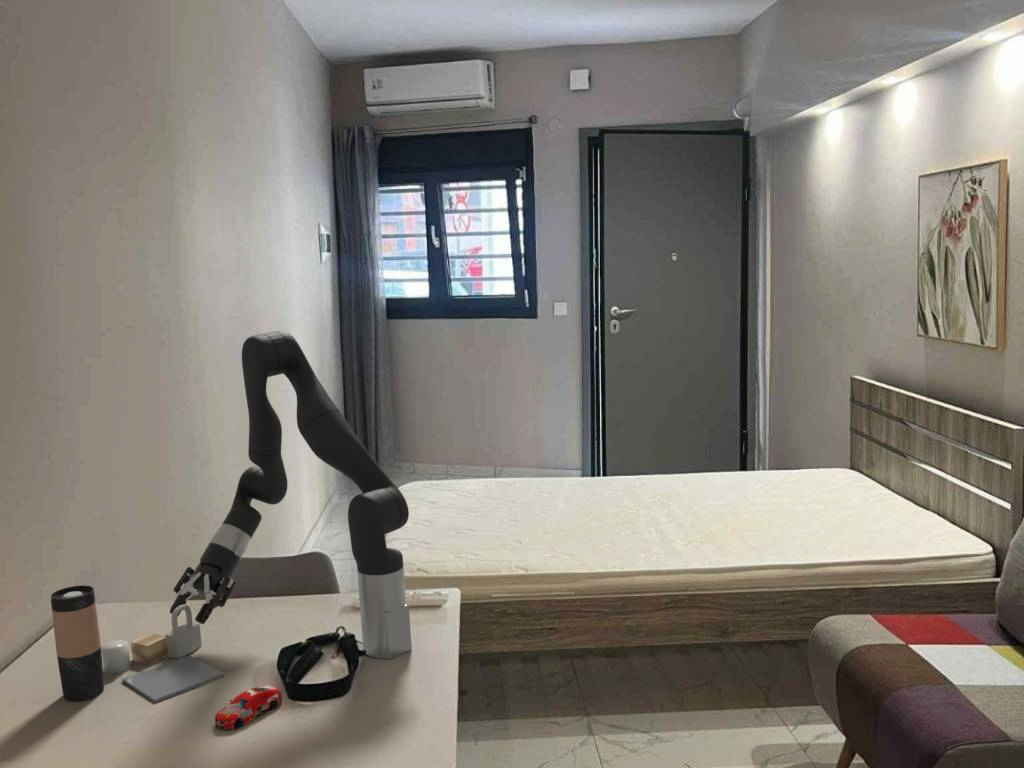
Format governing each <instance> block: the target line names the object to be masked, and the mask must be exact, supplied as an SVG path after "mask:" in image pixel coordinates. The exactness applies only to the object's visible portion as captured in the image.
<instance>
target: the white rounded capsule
mask: <svg viewBox="0 0 1024 768" xmlns="http://www.w3.org/2000/svg"><path fill="white" fill-rule="evenodd" d="M101 653H102V666H103V674H105V675H117V674H122V673H124V672H126V671H128V670H129V669H130V668H131V666H132V665H131V658H130V657H131V656H130V649H129V642H128V641H127V640H123V639H117V640H113V641H108V642H106V643H105V644H103V645H101Z"/></svg>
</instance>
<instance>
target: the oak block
mask: <svg viewBox="0 0 1024 768" xmlns="http://www.w3.org/2000/svg"><path fill="white" fill-rule="evenodd" d="M130 647H131V648H130V649H131V656H132V657H131V659H132V661H135V662H139V663H142V664H147V665H151V664H153V663H155V662H157V661H158V660H161V659H163V658H165V657H167V656H168V654H167V642H166V635H160V634H156V633H151V632H150V633H148V634H146V635H143V636H140V637H138V638H137V639H134V640H132V641H130ZM166 655H167V656H166ZM164 656H165V657H164ZM162 657H163V658H162ZM160 658H161V659H160Z"/></svg>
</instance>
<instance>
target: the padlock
mask: <svg viewBox="0 0 1024 768" xmlns="http://www.w3.org/2000/svg"><path fill="white" fill-rule="evenodd" d="M180 611H181V612H182V611H184V612H185V616H186V617H185V618H186V623H184V624H183V625H178V617H179V616H178V614H179V612H180ZM192 614H193V613H192V609H191V607H190V606H189V605H188V604H187V603H186V604H185V605H180V606H178V607H177V608H176V609H175V610H174V611H173V613H172V614H171V628H172V630H171V631H169V632H168V633H166V634H165V637H166V642H167V654H168V655H167V657H168V658H174V659H180V658H183V657H186V656H188V655H190V654H191V653H194V651H196V650H198V649H199V648H200V647H201V646H202V644H203V643H202V634H201V626H200V625H201V624H200V623H198V622H196V623H195V622H193V618H192V617H193V615H192ZM179 615H180V614H179Z"/></svg>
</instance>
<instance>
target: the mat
mask: <svg viewBox="0 0 1024 768" xmlns="http://www.w3.org/2000/svg"><path fill="white" fill-rule="evenodd" d="M224 677H225V673H224V672H222V671H220V670H218V669H216V668H214V667H213V666H210V665H209V664H207V663H206V662H203V661H201V660H200V659H197V658H196V657H194V656H192V655H190V654H187V655H185V656H183V657H181V658H176V659H175V660H172V661H169V662H166V663H163V664H160V665H157V666H155V667H152V668H150V669H146V670H143V671H140V672H138V673H135V674H132V675H129V676H127V677H123V678H121V679H122V680H121V681H122V683H124V684H125V685H126V686H128V687H130V688H131V689H132V690H135V691H137V692H138V693H140V695H142V696H144V697H145V698H147V699H148V700H151V702H153V703H158V702H160V701H164V700H166V699H169V698H172V697H174V696H177V695H180V694H182V693H186V692H187V691H191V690H193V689H195V688H198V687H200V686H203V685H204V686H205V685H206V684H208V683H211V682H214V681H216V680H217V681H218V680H220V679H222V678H224Z"/></svg>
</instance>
